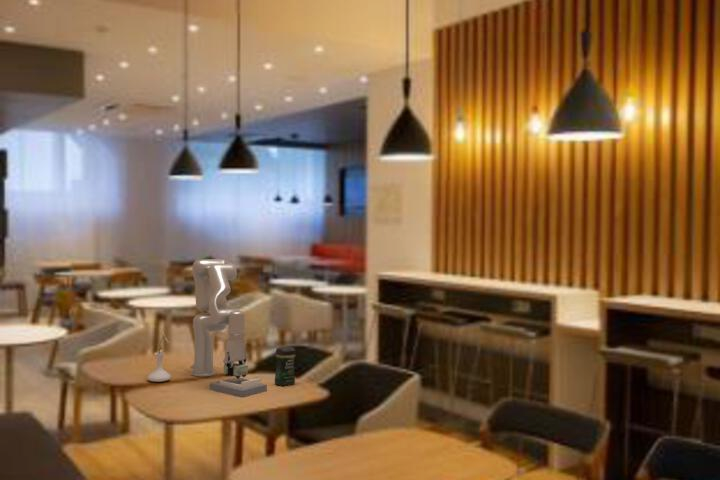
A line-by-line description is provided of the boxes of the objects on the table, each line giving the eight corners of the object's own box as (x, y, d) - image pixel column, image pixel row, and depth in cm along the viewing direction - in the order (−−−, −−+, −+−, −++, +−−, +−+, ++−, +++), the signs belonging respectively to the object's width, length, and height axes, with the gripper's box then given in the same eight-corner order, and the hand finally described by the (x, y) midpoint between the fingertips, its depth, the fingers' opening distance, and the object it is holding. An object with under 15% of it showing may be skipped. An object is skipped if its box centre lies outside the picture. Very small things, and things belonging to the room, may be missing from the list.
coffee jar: (280, 387, 354) (281, 349, 354) (272, 383, 361) (273, 346, 360) (297, 384, 361) (298, 347, 360) (288, 381, 367) (289, 344, 366)
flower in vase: (167, 383, 355) (168, 332, 355) (144, 383, 356) (144, 332, 355) (174, 377, 368) (175, 328, 368) (152, 377, 369) (153, 328, 368)
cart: (223, 376, 347) (223, 361, 347) (232, 374, 352) (233, 359, 352) (238, 379, 341) (238, 364, 341) (247, 377, 346) (247, 362, 346)
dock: (209, 389, 346) (209, 376, 346) (234, 383, 359) (234, 371, 359) (242, 397, 333) (242, 384, 333) (266, 390, 346) (267, 378, 346)
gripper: (243, 334, 356) (243, 370, 356) (217, 338, 342) (216, 376, 342) (254, 335, 351) (254, 373, 352) (228, 340, 337) (227, 378, 338)
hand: (235, 374), depth 347 cm, fingers closed on cart, 6 cm apart
